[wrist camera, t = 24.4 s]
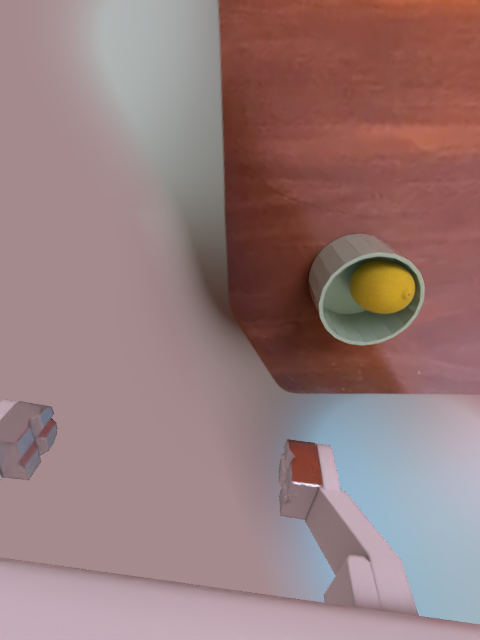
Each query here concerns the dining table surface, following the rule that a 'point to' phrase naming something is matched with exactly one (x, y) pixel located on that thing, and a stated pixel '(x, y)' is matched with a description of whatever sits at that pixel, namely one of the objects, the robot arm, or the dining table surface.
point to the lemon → (382, 286)
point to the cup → (335, 297)
